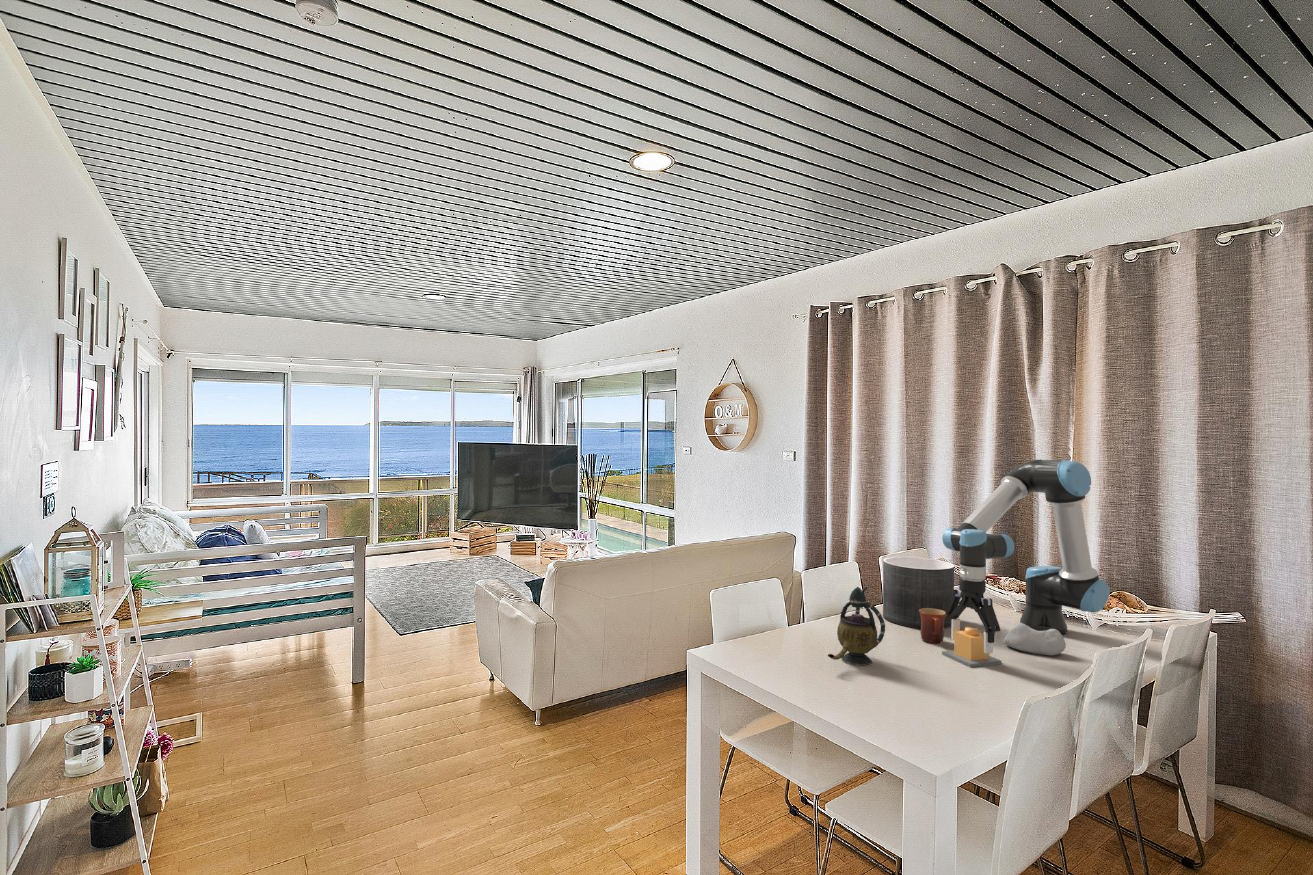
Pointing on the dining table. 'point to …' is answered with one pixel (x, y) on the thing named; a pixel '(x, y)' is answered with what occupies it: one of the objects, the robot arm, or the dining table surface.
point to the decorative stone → (1035, 640)
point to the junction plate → (968, 662)
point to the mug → (932, 625)
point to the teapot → (858, 631)
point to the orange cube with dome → (970, 644)
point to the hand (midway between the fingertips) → (971, 645)
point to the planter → (915, 588)
